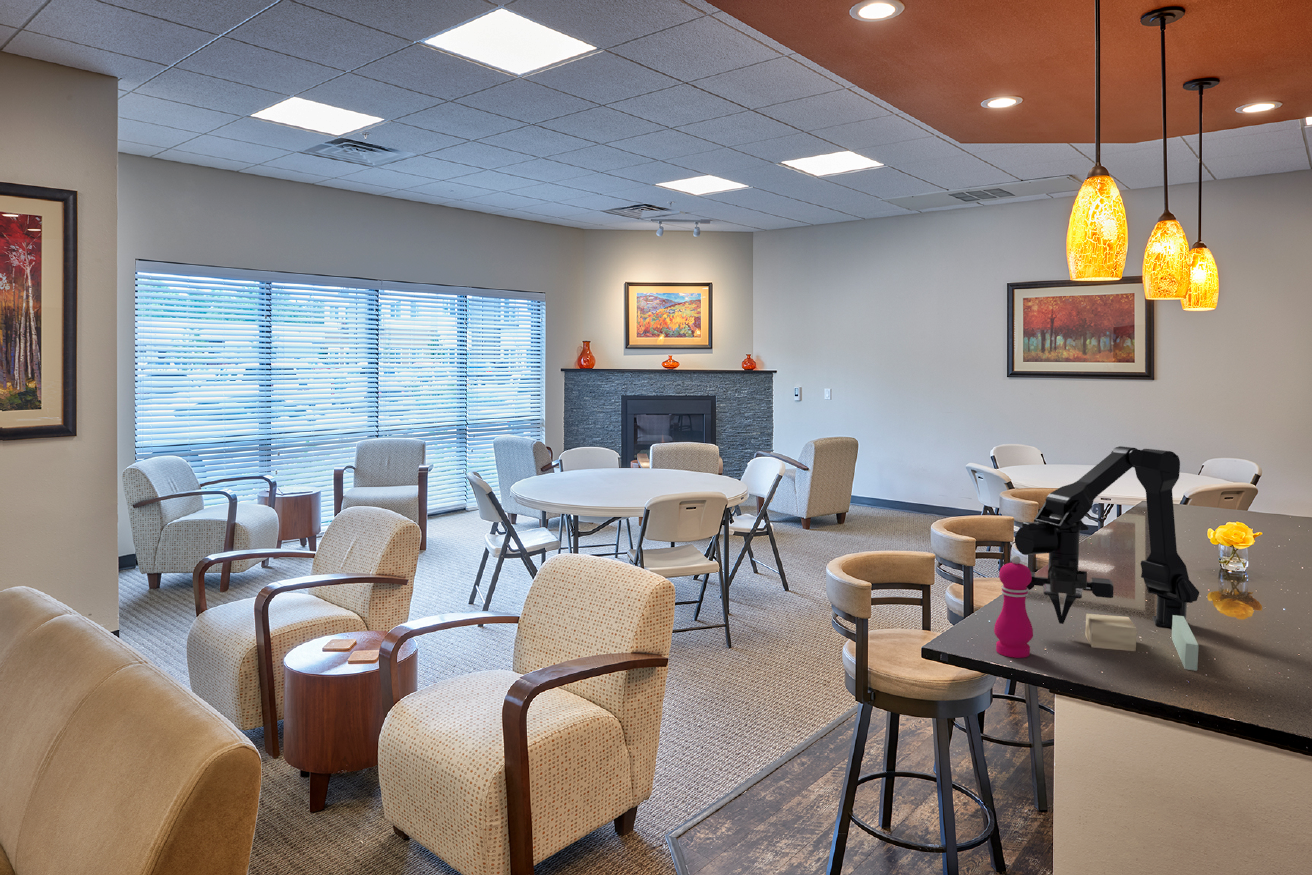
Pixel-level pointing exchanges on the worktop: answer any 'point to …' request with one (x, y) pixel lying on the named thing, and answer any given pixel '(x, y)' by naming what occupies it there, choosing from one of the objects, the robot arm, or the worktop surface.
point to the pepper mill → (1014, 611)
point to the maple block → (1110, 632)
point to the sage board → (1185, 642)
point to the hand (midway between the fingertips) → (1061, 623)
